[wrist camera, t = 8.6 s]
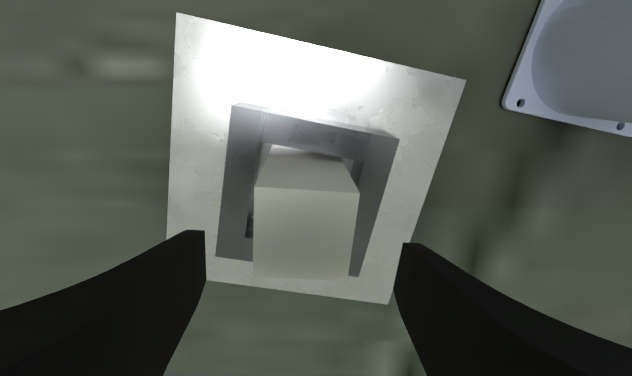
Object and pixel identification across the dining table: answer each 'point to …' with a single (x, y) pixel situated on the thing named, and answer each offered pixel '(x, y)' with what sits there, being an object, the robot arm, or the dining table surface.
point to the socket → (299, 144)
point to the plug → (303, 216)
